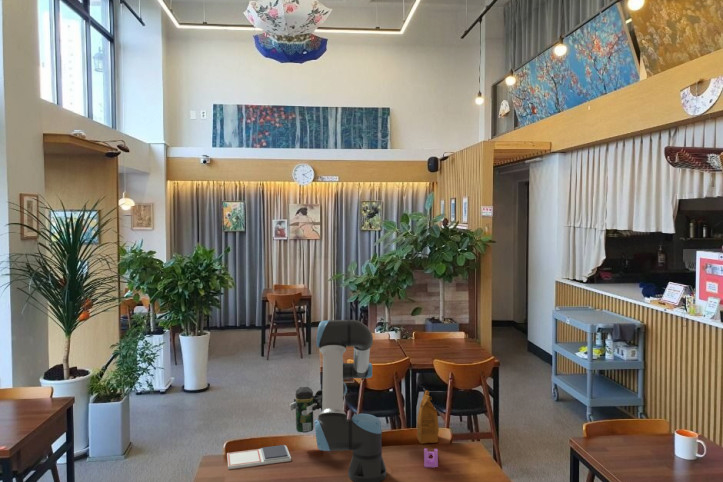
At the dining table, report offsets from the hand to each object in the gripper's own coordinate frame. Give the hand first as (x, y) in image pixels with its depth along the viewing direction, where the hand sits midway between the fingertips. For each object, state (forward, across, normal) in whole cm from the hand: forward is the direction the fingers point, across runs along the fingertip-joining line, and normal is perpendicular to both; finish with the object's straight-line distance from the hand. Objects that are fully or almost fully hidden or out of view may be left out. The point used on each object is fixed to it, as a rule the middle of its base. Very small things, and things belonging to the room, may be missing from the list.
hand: (298, 408), depth 225 cm
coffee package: (-39, -46, -19) cm, 63 cm away
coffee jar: (-5, 0, -11) cm, 12 cm away
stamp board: (+13, +12, -19) cm, 26 cm away
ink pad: (+8, +7, -18) cm, 21 cm away
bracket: (-18, -55, -20) cm, 61 cm away
